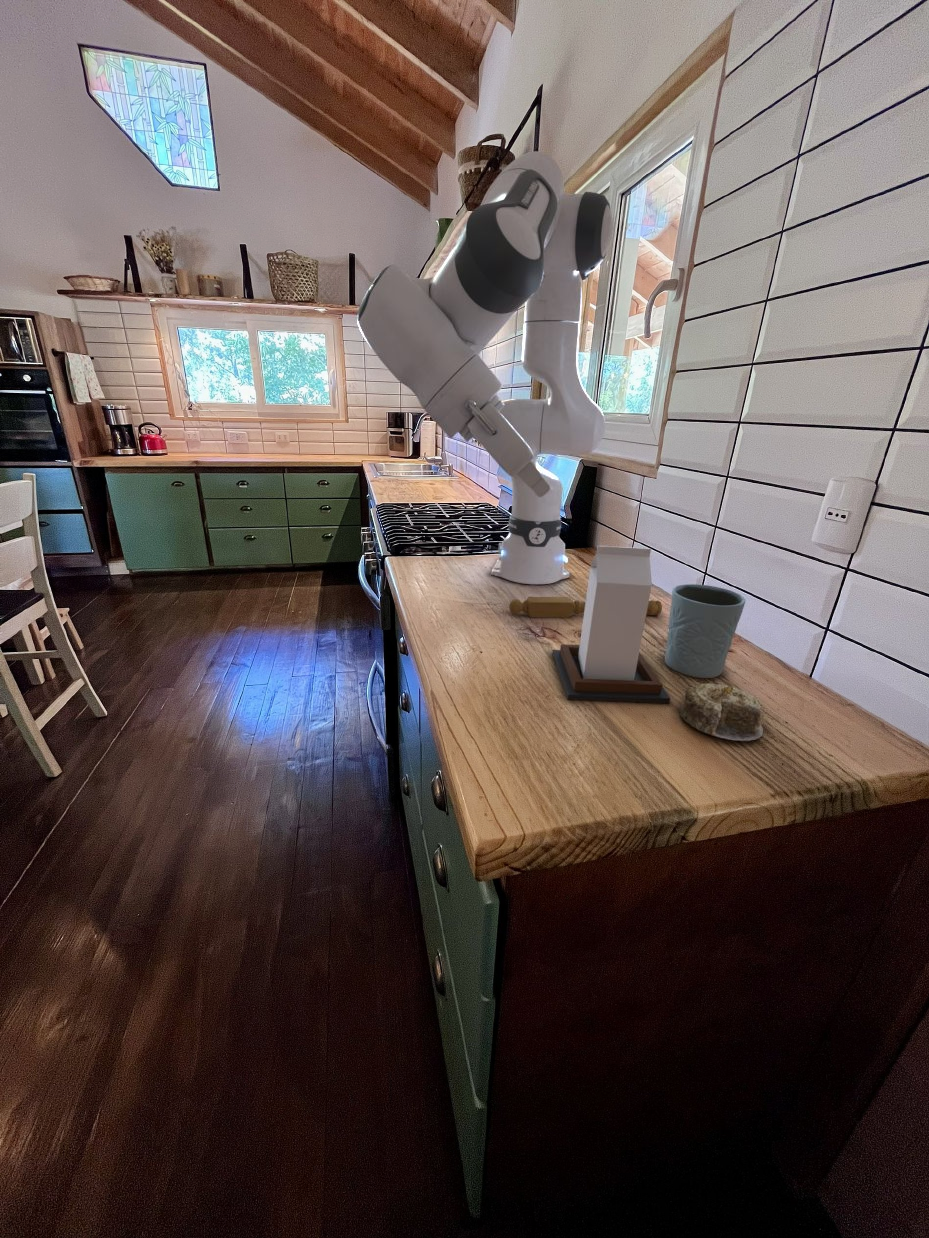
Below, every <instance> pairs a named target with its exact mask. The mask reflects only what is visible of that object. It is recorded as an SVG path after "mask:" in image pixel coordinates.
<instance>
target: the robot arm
mask: <svg viewBox="0 0 929 1238" xmlns="http://www.w3.org/2000/svg"><path fill="white" fill-rule="evenodd" d="M611 211H612V210H611V205H610V202H609V201H608V199H607V197H606V195H604V194H601V193H598V192H593V191H584V193H572V192H571V193H569V192H567V193H566V192H565V181H564V176H563V173H562V170H561V167H560V166H559V164H558V162H557V161H556V160H555V159H554V158H553V157H552V156H551V155H550V154H547V153H546V152H543V151H529V152H525V153H524V154H522V155H520V156H519V157H516V158H515V159H514V160H512V161H511V162H510V163H509V164H508V165H507V166H506V167H504V168H503V169H502V171H500V173H499V174H498V175H497V176H496V178H495V179H494V180H493V182H492V183H491V184H490V186H489V188H488V189H487V191H486V192H485V194H484V196H483V199H482V201H481V203H480V205H479V206H477V207H475V208H474V209H473V210H472V211H471V213H470V214H469V216H468V218H467V220H466V222H465V224H464V225H463V227H462V229H461V231H460V233H459V235H458V238H457V240H456V241H455V243H454V245H453V246H452V248H451V249H450V251H449V253H448V255H447V256H446V257H445V259H444V260H443V263H442V264H441V265H440V268H439V270H438V271H437V272H436V274H435V276H432V277H429V278H418V277H417V278H416V277H412V276H409V275H408V274H407V273H406V272H405V271H404V270H403V269H401V268H400V267H399V266H397V265H396V264H390V265H388V266H385V267H384V268H383V270H381V271H380V272H379V273H378V275H377V276H376V277H375V278H374V280H373V282H372V283H371V285H370V286H369V288H368V290H367V291H366V292H365V294H364V297H363V298H362V301H361V303H360V305H359V307H358V310H357V314H356V317H357V318H356V320H357V321H356V322H357V326H358V328H359V331H360V332H361V334H362V337H363V338H364V340H365V342H366V343H367V344H368V346H369V347H370V349H371V351H372V352H373V353H374V354H375V355H376V357H377V358H378V359H379V360H380V362H381V363H382V364H383V365H384V367H386V368H387V370H388V371H389V372H390V373H391V374H392V376H394V378H396V380H397V381H398V382H399V383H401V384H403V385H404V386H406V387H407V389H409V390H410V391H411V392H412V393H413V394H414V395H415V397H416V398H417V400H418V402H419V404H420V406H421V408H422V409H423V410H424V411H425V412H426V414H427V415H428V416H429V417H430V418H431V419H432V420H433V421H434V422H435V423H436V425H437V426H438V427H439V428H440V429H441V430H442V431H443V432H444V434H445V435H446V436H447V437H448V438H449V439H453V438H454V437H455V436H456V435H457V434H459V435H460V437H462V438H463V440H464V441H465V442H467V443H468V442H469V441H471V440H472V439H474V440H475V441H476V442H477V443H478V444H480V445H481V446H482V447H483V448H484V449H485V451H486V452H487V454H489V456H490V457H491V458H492V459H493V460H494V461H495V462H496V464H497V465H498V466H499V467H500V468H501V469H502V471H503V472H504V473H505V474H507V475H508V477H510V478H511V490H512V491H511V493H512V494H511V495H512V496H511V500H512V501H511V514H510V516H509V518H508V519H509V520H508V534H507V536H506V537H504V538H503V540H502V541H501V542H499V543H498V547H497V548H498V550H497V552H498V553H500V555H499V556H498V558H497V559H496V561H495V563H494V565H493V567H492V569H491V571H490V572H491V573H490V575H492V576H495V577H500V578H503V579H505V580H508V581H509V582H514V583H518V584H526V585H548V584H553V583H556V582H559V581H560V580H565V579H569V578H570V577H571V576H570V574H571V573H570V572H569V571H568V570H567V569H565V568H564V567H565V563H568V561H569V558H568V557H567V556H566V555H565V554H566V543H565V542H564V541H563V540H562V539H561V537H560V534H561V529H562V518H561V509H562V499H563V491H564V489H563V488H564V487H563V484H562V481H561V480H560V479H559V477H557V475H555V474H553V473H552V472H551V471H549V470H548V469H545V468H544V467H542V466H541V465H540V464H539V462H538V456H539V455H553V456H554V455H555V456H577V455H583V454H590V453H592V452H593V451H595V450H596V449H597V448H598V447H599V446H600V445H601V442H602V441H603V439H604V436H605V433H606V419H605V418H606V417H605V415H604V413H603V411H602V409H601V408H600V406H599V405H598V404H597V403H596V402H595V401H593V400H592V398H591V397H590V396H589V394H588V393H587V391H586V390H585V388H584V386H583V384H582V380H581V376H580V372H579V361H578V360H579V338H580V328H581V317H582V297H583V296H582V294H583V293H582V282H585V281H587V279H588V277H589V275H590V273H592V272H593V271H595V270H597V269H598V268H599V266H600V265H601V264H602V262H604V259H605V258H606V255H607V253H608V250H609V246H610V244H611V242H612V241H611V240H612V237H613V227H614V223H613V215H612V212H611ZM524 304H525V307H524V315H523V316H524V317H523V328H522V329H523V330H522V348H521V350H522V351H521V364H522V367H523V370H524V371H525V372H526V374H527V375H529V377H531V378H532V379H534V380H536V381H537V382H539V383H541V384H543V385H544V386H545V387H547V390H548V392H549V398H546V399H540V398H539V399H538V398H537V399H536V398H535V399H534V398H512V399H506V400H501V398H500V397H499V396H498V394H497V393H498V392H500V390H501V389H503V387H504V385H503V383H502V382H501V381H500V379H499V378H498V377H497V376H496V375H495V374H494V372H493V371H492V369H490V367H489V366H488V365H487V364H486V363H485V362H484V360H483V359H482V358H481V356H480V355H479V354H480V353H482V351H483V350H484V349H485V348H486V346H488V344H489V343H490V342H491V341H492V340H493V339H494V338H495V337H496V335H497V334H498V333H499V332H500V330H502V328H503V327H504V326H505V325H506V324H507V322H508V321H509V320H510V319H511V318H512V316H513V315H514V314H515V313H516V312H517V311H518V310H519V309H520V308H522V306H523V305H524Z"/></svg>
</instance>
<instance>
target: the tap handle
mask: <svg viewBox="0 0 929 1238" xmlns="http://www.w3.org/2000/svg"><path fill="white" fill-rule="evenodd" d="M585 603H586V601H579V600H573V599H571V598H570V597H568V596H528V597H527V598H526V600H524V601H522V602H521V600H520V599H517V598H515V599H512V600H511V601H510V602H509V603H508V609H509V611H510V613H511V614H513V615H518V614H520V613H521V612H523V613H524V614H526V616H528V617H530V618H570V617H571V616H572V615H573V614H575V615H579V614H581V613H582V614H584V610H585ZM662 611H663V605H662V602H661V601H660V600H649V602H648V608H647V613H646V615H648V616H659V615H661V614H662Z"/></svg>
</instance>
